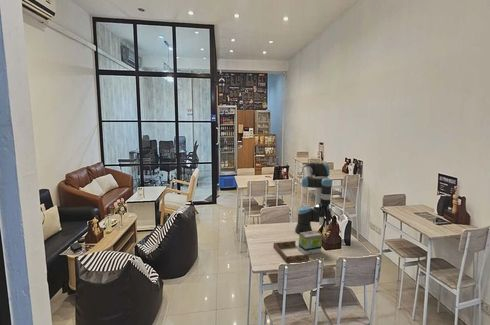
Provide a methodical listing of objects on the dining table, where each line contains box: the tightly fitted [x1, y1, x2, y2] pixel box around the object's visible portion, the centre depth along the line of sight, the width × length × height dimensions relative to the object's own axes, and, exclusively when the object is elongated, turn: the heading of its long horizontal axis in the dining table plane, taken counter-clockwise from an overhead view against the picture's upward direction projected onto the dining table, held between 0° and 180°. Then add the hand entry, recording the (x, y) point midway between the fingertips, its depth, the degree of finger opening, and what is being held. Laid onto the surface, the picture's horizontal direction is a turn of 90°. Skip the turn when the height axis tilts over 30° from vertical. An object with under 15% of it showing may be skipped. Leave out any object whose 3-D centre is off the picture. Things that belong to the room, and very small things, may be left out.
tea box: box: [297, 230, 323, 255], centre depth 224 cm, size 15×10×15 cm, turn 114°
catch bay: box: [273, 240, 310, 263], centre depth 221 cm, size 19×24×4 cm
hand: (323, 226), depth 225 cm, fingers open, 8 cm apart
